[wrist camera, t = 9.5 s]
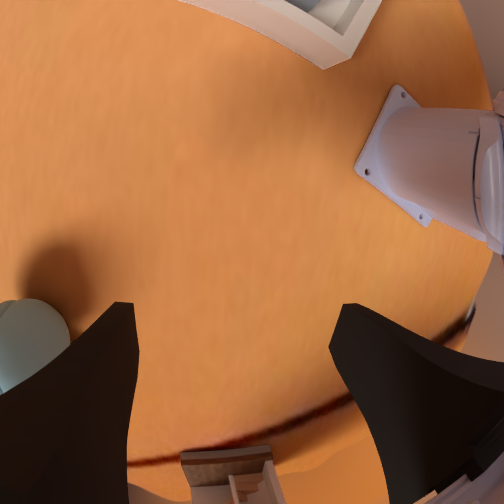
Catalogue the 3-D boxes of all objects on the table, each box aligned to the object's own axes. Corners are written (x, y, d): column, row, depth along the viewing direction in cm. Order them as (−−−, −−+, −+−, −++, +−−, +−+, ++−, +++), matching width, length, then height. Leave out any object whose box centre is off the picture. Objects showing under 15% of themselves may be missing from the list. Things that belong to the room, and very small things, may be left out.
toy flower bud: (43, 455, 12) (-53, 358, 7) (59, 381, 20) (-2, 283, 15) (110, 465, 14) (6, 364, 8) (118, 380, 21) (59, 270, 16)
